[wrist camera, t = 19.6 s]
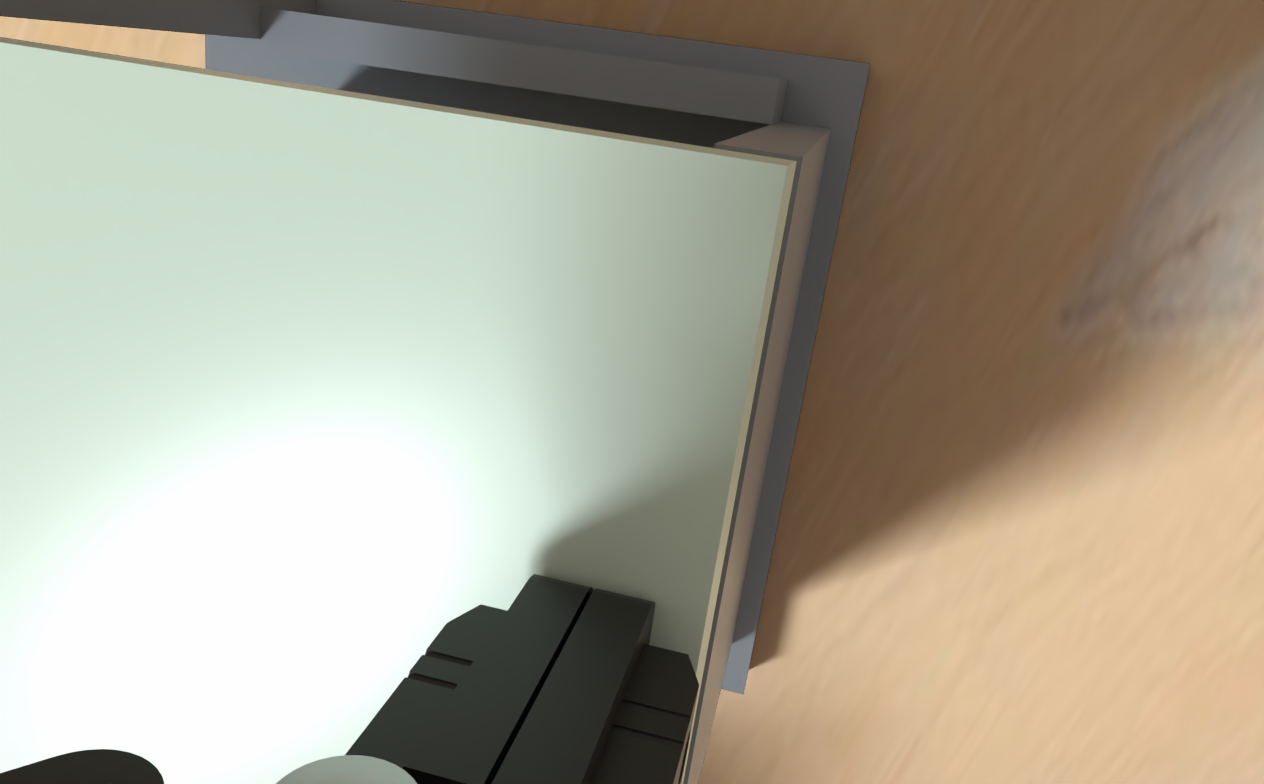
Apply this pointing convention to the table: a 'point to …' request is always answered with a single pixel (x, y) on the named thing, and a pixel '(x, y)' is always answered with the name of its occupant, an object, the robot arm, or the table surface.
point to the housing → (601, 100)
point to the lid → (342, 395)
